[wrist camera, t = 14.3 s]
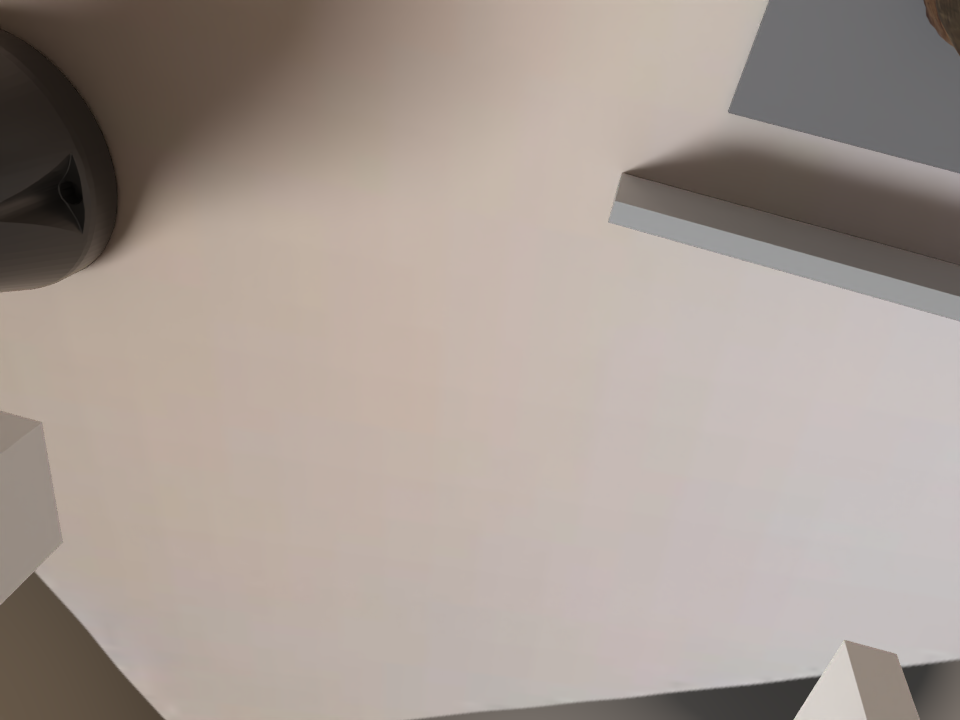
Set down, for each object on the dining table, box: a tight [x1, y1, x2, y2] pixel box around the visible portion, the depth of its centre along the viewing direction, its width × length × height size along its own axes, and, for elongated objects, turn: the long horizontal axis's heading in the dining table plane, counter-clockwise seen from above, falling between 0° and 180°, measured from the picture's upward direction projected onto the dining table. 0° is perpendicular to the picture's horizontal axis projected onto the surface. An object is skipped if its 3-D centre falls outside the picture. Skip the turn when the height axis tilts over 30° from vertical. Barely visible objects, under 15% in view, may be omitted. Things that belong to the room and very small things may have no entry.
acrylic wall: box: [608, 173, 960, 321], centre depth 33 cm, size 26×1×5 cm, turn 78°
